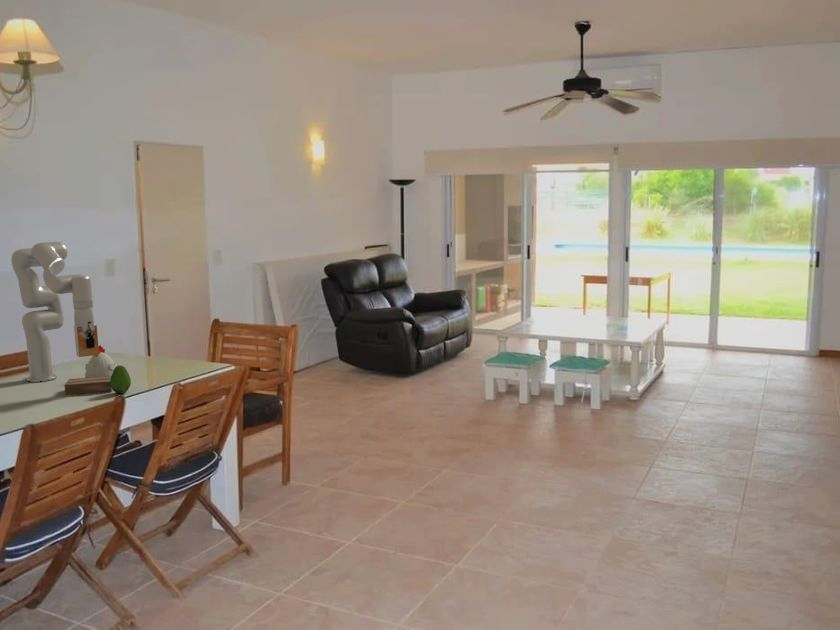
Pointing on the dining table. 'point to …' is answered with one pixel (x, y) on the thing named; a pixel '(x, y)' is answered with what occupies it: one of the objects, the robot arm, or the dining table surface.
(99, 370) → the white chicken figurine
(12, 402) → the dining table surface
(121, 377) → the fruit
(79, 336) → the small box
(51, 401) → the dining table surface
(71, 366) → the dining table surface
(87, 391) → the walnut riser block
